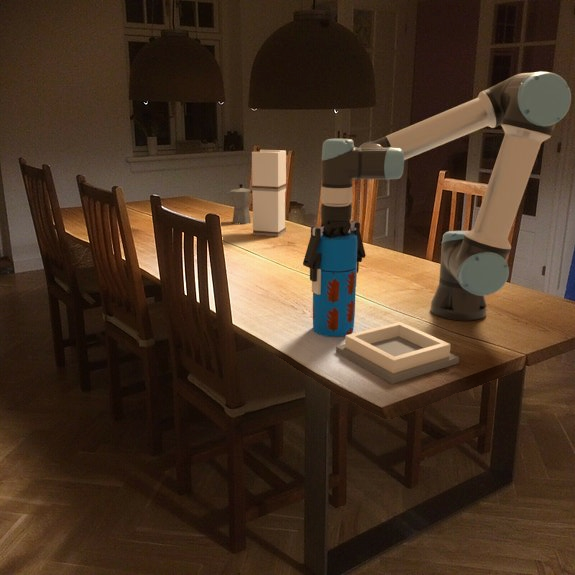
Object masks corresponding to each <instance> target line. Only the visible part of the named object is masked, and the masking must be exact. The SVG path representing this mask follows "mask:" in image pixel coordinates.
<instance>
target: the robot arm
mask: <svg viewBox="0 0 575 575" xmlns="http://www.w3.org/2000/svg"><path fill="white" fill-rule="evenodd" d="M571 103H572V93H571V88H570V87H569V85H568V82H567V81H566V79H564V78H563V77H562V76H561V75H558V74H557V73H554V72H549V71H543V70H539V71H535V72H522V73H518V74H515V75H513V76H511V77H509V78H507V79H505V80H503V81H501V82H498V83H497V84H495V85H493V86H491V87H489V88H487V89H484V90H482V91H480V92H479V94H478V96H477V97H476V98H474V99H471V100H469V101H467V102H464V103H461V104H459V105H457V106H455V107H452V108H450V109H447V110H444V111H443V112H440V113H437V114H435V115H433V116H431V117H428V118H425V119H423V120H422V121H419V122H416V123H414V124H412V125H409V126H407V127H405V128H402V129H399V130H398V131H395V132H393V133H391V134H387V135H386V136H383V137H381V138H379V139H376V140H374V141H367V142H365V143H362V144H361V145H360V146H359V147H358V146H357V147H356V146H355V145H354V143H355V142H354V140H353V139H352V138H351V139H349V138H328V139H326V140H324V141H323V142H322V150H321V189H320V191H321V194H320V197H321V198H320V201H321V203H322V204H321V205H320V219H321V225H320V226H318V227H317V226H316V227H315V226H312V227H311V228H310V238H309V241H308V245H307V247H306V251H305V255H304V259H303V261H302V265H303V266H304V267H306V268H309V281H311V293H312V294H313V293H315V294H318V295H319V294H321V269H319V268H318V267H319V265H320V263H321V259H322V253H318V252H317V249H318V245H319V242H320V238H321V235H322V233H323V235H322V236H325V237H328V238H335V237H338V236H348V235H349V234H348V232H349V233H353V234H355V235H356V236H357V266H356V281H357V277H358V276H357V275H358V273H359V268H360V266H359V264H360V263H361V262H362V261H363V259H365V258H366V251H365V247H364V242H363V239H362V238H363V237H362V234H361V223H360V222H359V221H354V220H352V214H353V213H352V210H353V209H352V208H353V207H352V205H351V203H352V202H353V181H354V180H386V181H389V180H398V179H401V177H402V176H403V174H404V167H405V161H406V160H408V159H410V158H413V157H414V156H417V155H420V154H422V153H425V152H427V151H430V150H432V149H435V148H437V147H439V146H443V145H445V144H447V143H449V142H453V141H454V140H457V139H459V138H461V137H464V136H466V135H467V136H468V135H469V134H472V133H474V132H477V131H479V130H480V129H481V130H482V129H483V128H486V127H488V128H489V127H490V128H491V129H494V128H497V127H498V126H501V127H502V130H503V132H504V136H503V139H502V142H501V145H500V148H499V151H498V154H497V157H496V160H495V163H494V166H493V169H492V172H491V174H490V178H489V181H488V185H487V187H486V189H485V192H484V196H483V198H482V202H481V204H480V207H479V210H478V212H477V213H478V214H477V217H476V219H475V222H474V225H473V227H472V229H470V230H449V231H446V232H445V233H444V234H442V241H441V251H440V252H441V253H440V254H441V255H440V264H439V265H440V266H439V279H438V280H439V281H438V285H437V288H436V290H435V292H434V295H433V296H432V300H431V303H430V312H431V313H433V314H434V315H435V316H438V317H440V318H443V319H447V320H452V321H453V320H454V321H462V322H463V321H465V322H466V321H476V320H477V321H478V320H481V319H483V318H485V317H486V315H487V310H488V307H487V302H486V298H485V297H486V296H490V295H492V294H495V293H497V292H498V291H500V290H501V289H503V287H504V286H505V285H506V283H507V281H508V279H509V276H510V268H509V265H508V262H507V261H508V259H509V255H510V252H511V249H512V245H511V244H510V242H509V236H510V233H511V230H512V227H513V224H514V221H515V218H516V217H517V214H518V211H519V207H520V205H521V202H522V199H523V196H524V193H525V190H526V188H527V185H528V182H529V179H530V177H531V174H532V170H533V168H534V165H535V162H536V159H537V156H538V154H539V151H540V148H541V145H542V143H543V142H545V141H547V140H548V139H550V138H551V137H552V135H553V131H554V129H555V126H556V124H557V123H559V122H560V121H561V120H562V119H564V117H566V115H567V113H568V112H569V110H570V107H571ZM350 220H351V221H350Z"/></svg>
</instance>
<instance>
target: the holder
mask: <svg viewBox="0 0 575 575" xmlns="http://www.w3.org/2000/svg"><path fill="white" fill-rule="evenodd" d="M344 338H345V339H344V342H345V343H344V344H340V345H336V346H335V353H337V354H339V356H342V357H343V358H345V359H347V360H349V361H351V362H352V363H354V364H356V365H358V366H359V367H362V368H363V369H365V370H366V371H368V372H370V373H372V374H373V375H375V376H377V377H379V378H381V380H382V379H383V380H385V381H386V382H388V383H389V384H391V385H393V384H396V383H400V382H403V381H406V380H409V379H412V378H416V377H420V376H423V375H425V374H429V373H431V372H436V371H439V370H442V369H445V368H448V367H451V366H454V365H457V364H459V363H460V357H459V356H458V355H455V354H453V353H451V347H452V346H451V343H450V342H447V341H444V340H442V339H439V338H438V337H435V336H432V335H431V334H429V333H426V332H424V331H422V330H420V329H417V328H415V327H413V326H410V325H408V324H406V323H403V322H401V321H398V322H394V323H390V324H386V325H381V326H377V327H374V328H369V329H365V330H363V331H361V330H360V331H357V332H354V333H353V332H352V333H351V334H349V335H345V336H344Z"/></svg>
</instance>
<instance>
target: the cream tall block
mask: <svg viewBox="0 0 575 575" xmlns="http://www.w3.org/2000/svg"><path fill="white" fill-rule="evenodd" d="M251 176H252V177H251V178H252V179H251V184H252V187H251V189H252V204H253V206H252V235H253V236H259V235H266V236H265V237H273V236H276V237H277V238H279V237H281V235H283V234H285V233H286V232H287V227H286V191H287V150H284V149H283V150H280V149H279V150H277V149H260V150H259V151H252V152H251ZM276 237H275V238H276Z"/></svg>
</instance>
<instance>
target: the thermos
mask: <svg viewBox="0 0 575 575" xmlns="http://www.w3.org/2000/svg"><path fill="white" fill-rule="evenodd" d="M348 234H349V235H348V236H338V237H335V238H328V237H325V236H322V235H323V233H322V235H321V238H320V242H319V245H318V249H317V252H318V253H322V259H321V263H320V265H319V267H318V268H319V269H321V294H319V295H318V294H315V293H313V292H312V329H313V331H314V333H316V334H318V335H319V336H324V337H329V338H330V337H331V338H339V337H345V335H349V334H353V332H354V329H355V328H354V327H355V316H356V294H357V293H356V291H357V289H356V288H357V280H356V266H357V236H356V235H355V234H353V233H350V231H348Z"/></svg>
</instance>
